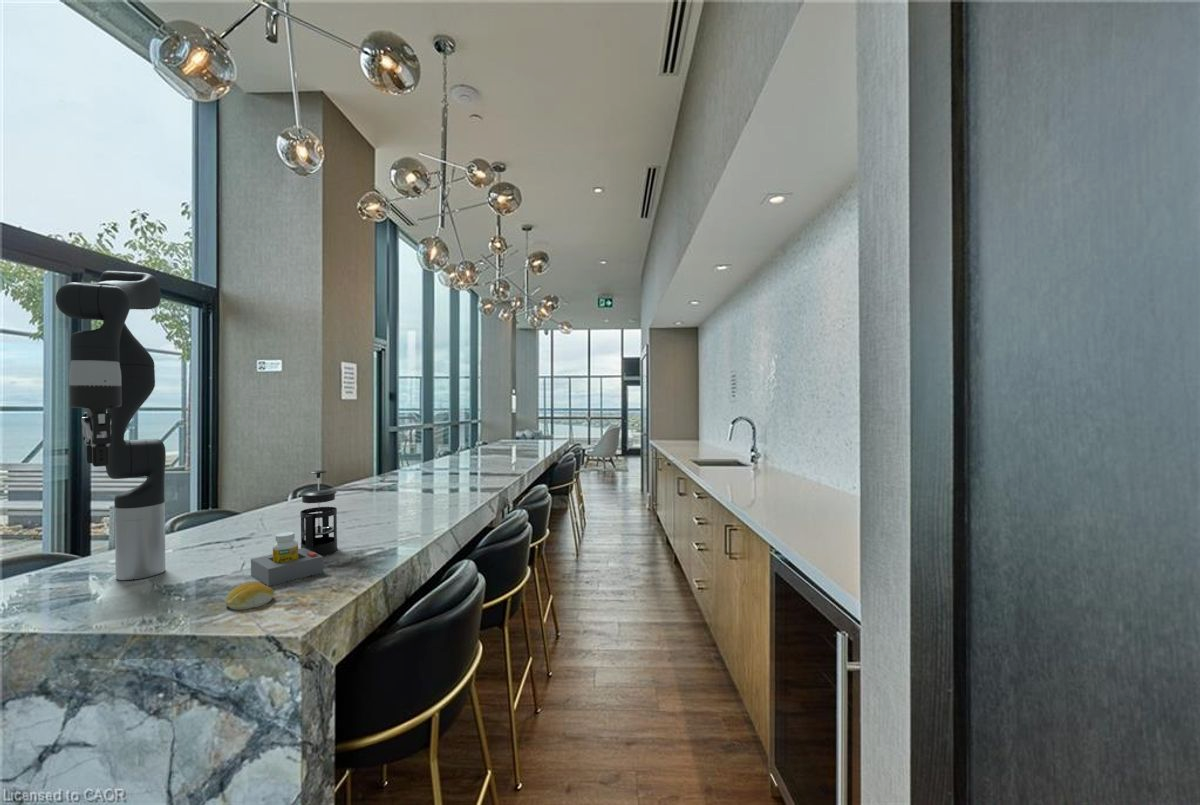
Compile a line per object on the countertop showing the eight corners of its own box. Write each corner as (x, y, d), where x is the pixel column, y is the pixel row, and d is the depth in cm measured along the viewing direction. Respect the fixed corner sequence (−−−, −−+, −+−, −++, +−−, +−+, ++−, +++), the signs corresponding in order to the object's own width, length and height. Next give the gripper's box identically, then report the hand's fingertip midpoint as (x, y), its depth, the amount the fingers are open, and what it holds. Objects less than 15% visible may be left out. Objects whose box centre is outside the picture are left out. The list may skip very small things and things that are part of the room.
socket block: (251, 575, 126) (250, 556, 126) (303, 562, 136) (303, 545, 136) (268, 586, 119) (268, 566, 119) (323, 572, 128) (323, 554, 128)
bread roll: (263, 592, 116) (263, 574, 116) (278, 602, 110) (278, 583, 110) (219, 603, 110) (218, 585, 110) (233, 614, 104) (233, 595, 104)
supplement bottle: (294, 567, 131) (294, 530, 131) (301, 572, 127) (301, 533, 127) (270, 573, 127) (269, 534, 127) (276, 578, 123) (275, 538, 123)
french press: (310, 547, 150) (309, 468, 149) (344, 546, 150) (343, 467, 150) (290, 560, 138) (289, 474, 138) (327, 559, 139) (326, 473, 139)
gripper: (127, 383, 102) (128, 465, 102) (115, 385, 111) (116, 460, 112) (73, 383, 97) (75, 469, 97) (65, 384, 106) (66, 463, 106)
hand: (97, 464), depth 104 cm, fingers open, 8 cm apart
